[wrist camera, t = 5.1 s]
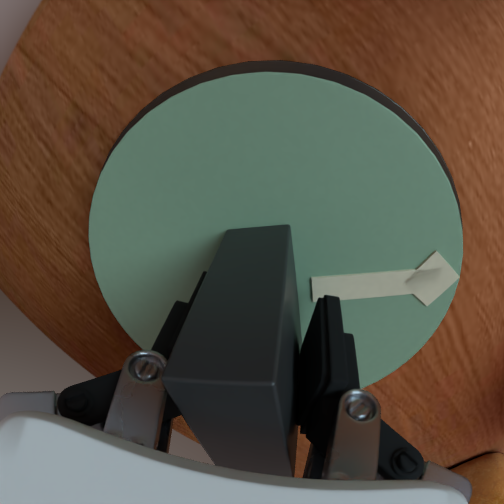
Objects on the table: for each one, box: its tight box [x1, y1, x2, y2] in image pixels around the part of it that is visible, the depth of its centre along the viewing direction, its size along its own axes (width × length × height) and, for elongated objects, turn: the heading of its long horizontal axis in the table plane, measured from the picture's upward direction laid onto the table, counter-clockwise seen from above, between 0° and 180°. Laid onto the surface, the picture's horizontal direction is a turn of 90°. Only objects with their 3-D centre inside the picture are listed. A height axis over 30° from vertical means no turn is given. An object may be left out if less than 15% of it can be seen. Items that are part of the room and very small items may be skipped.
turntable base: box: [98, 60, 462, 225], centre depth 14 cm, size 18×18×1 cm
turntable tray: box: [89, 72, 463, 477], centre depth 10 cm, size 17×17×8 cm
